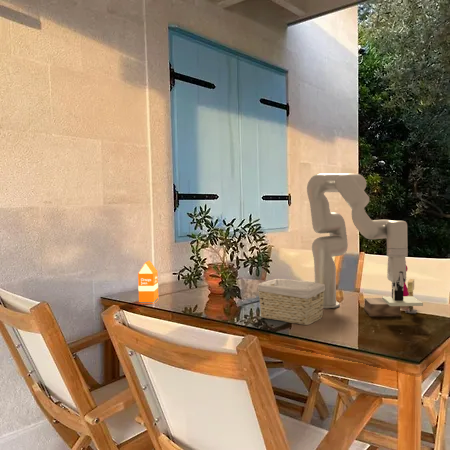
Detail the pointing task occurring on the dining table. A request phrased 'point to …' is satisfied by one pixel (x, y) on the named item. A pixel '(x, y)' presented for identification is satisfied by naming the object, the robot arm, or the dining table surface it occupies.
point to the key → (410, 290)
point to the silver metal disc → (411, 311)
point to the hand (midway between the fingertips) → (397, 299)
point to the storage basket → (291, 300)
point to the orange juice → (148, 283)
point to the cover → (406, 301)
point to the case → (380, 308)
